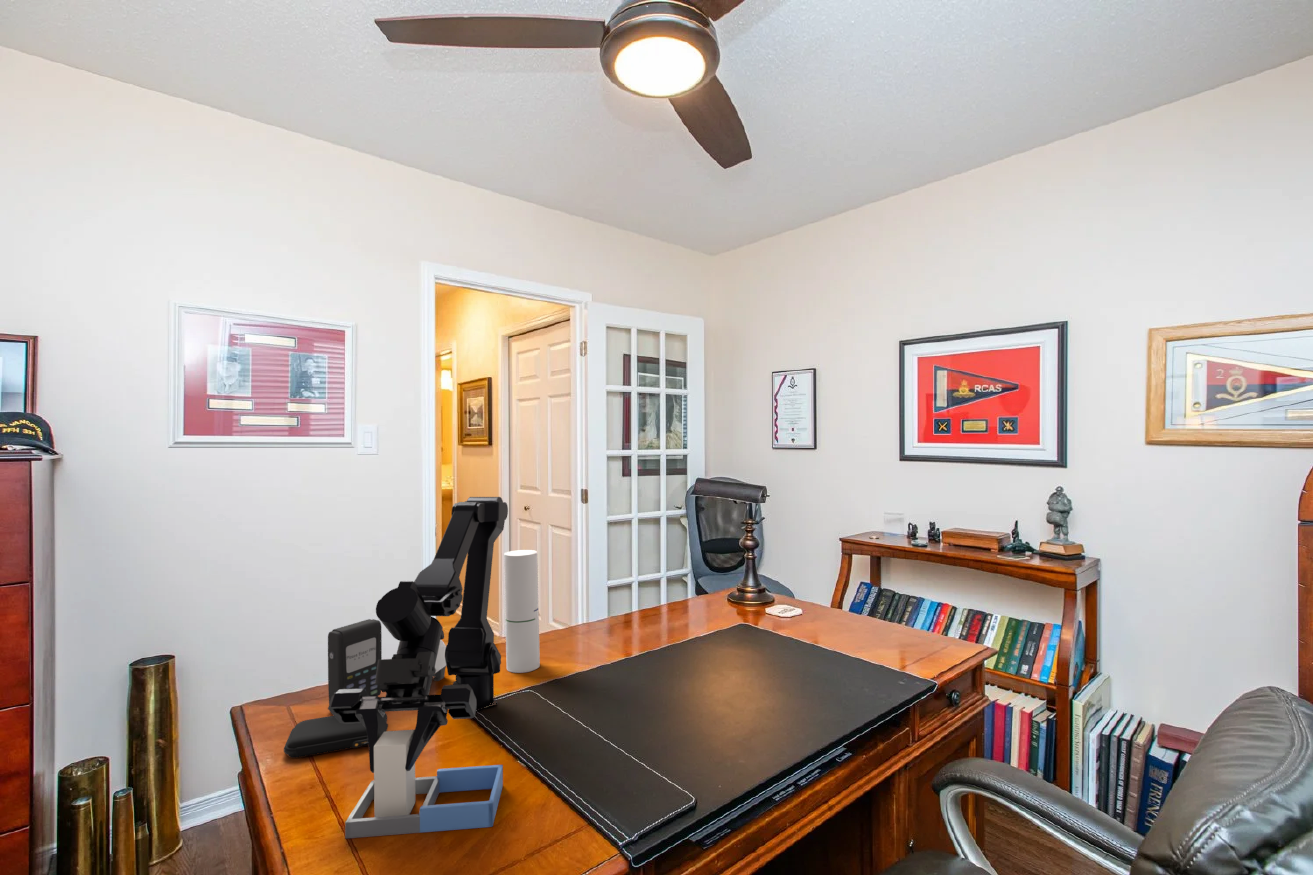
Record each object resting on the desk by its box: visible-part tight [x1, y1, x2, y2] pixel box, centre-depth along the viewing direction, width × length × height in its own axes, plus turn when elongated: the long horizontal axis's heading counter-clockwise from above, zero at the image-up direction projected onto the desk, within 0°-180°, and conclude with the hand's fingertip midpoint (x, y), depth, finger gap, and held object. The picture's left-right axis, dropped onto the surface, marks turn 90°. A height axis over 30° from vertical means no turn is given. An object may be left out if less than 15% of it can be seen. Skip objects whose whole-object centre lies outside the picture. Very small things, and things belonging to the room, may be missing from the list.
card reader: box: [327, 618, 383, 704], centre depth 113 cm, size 9×4×15 cm, turn 151°
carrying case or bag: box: [283, 712, 388, 759], centre depth 99 cm, size 11×3×15 cm
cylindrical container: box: [503, 549, 541, 674], centre depth 131 cm, size 7×7×25 cm
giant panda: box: [432, 639, 447, 682], centre depth 120 cm, size 15×6×10 cm, turn 168°
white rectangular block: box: [373, 728, 416, 817], centre depth 79 cm, size 4×4×10 cm
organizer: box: [344, 764, 504, 839], centre depth 80 cm, size 18×9×3 cm, turn 97°
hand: (390, 770), depth 78 cm, fingers closed on white rectangular block, 4 cm apart
